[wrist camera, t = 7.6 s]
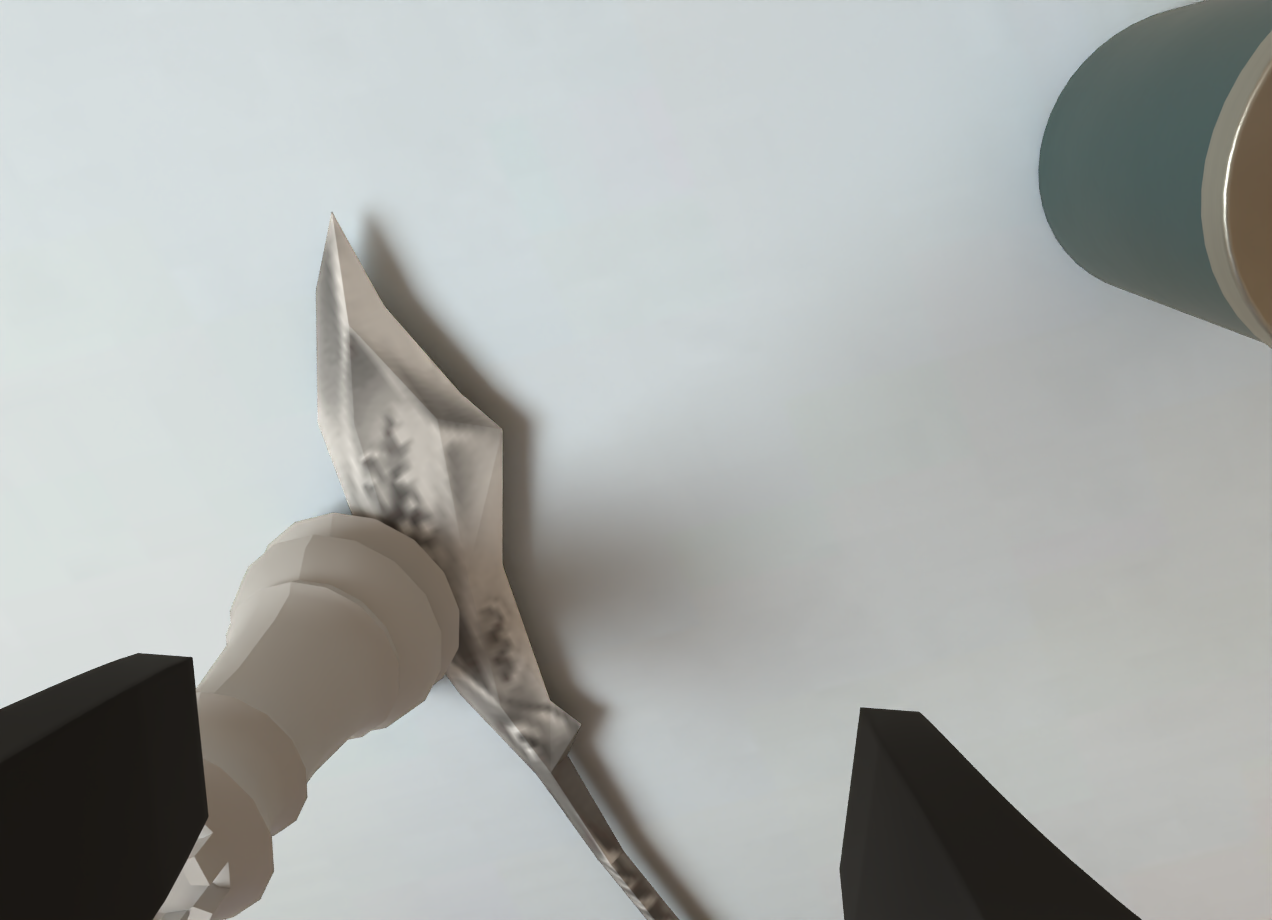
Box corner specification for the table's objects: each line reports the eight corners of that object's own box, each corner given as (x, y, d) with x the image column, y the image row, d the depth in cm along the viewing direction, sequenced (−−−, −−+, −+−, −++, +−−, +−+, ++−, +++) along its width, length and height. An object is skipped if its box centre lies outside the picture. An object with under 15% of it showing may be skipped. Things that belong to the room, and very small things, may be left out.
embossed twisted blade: (355, 197, 19) (155, 332, 20) (344, 200, 18) (139, 338, 19) (1078, 1294, 26) (904, 1348, 27) (1087, 1320, 25) (909, 1374, 26)
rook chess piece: (243, 507, 21) (-70, 744, 13) (447, 497, 20) (234, 745, 13) (292, 693, 22) (35, 998, 15) (484, 692, 21) (313, 1014, 14)
